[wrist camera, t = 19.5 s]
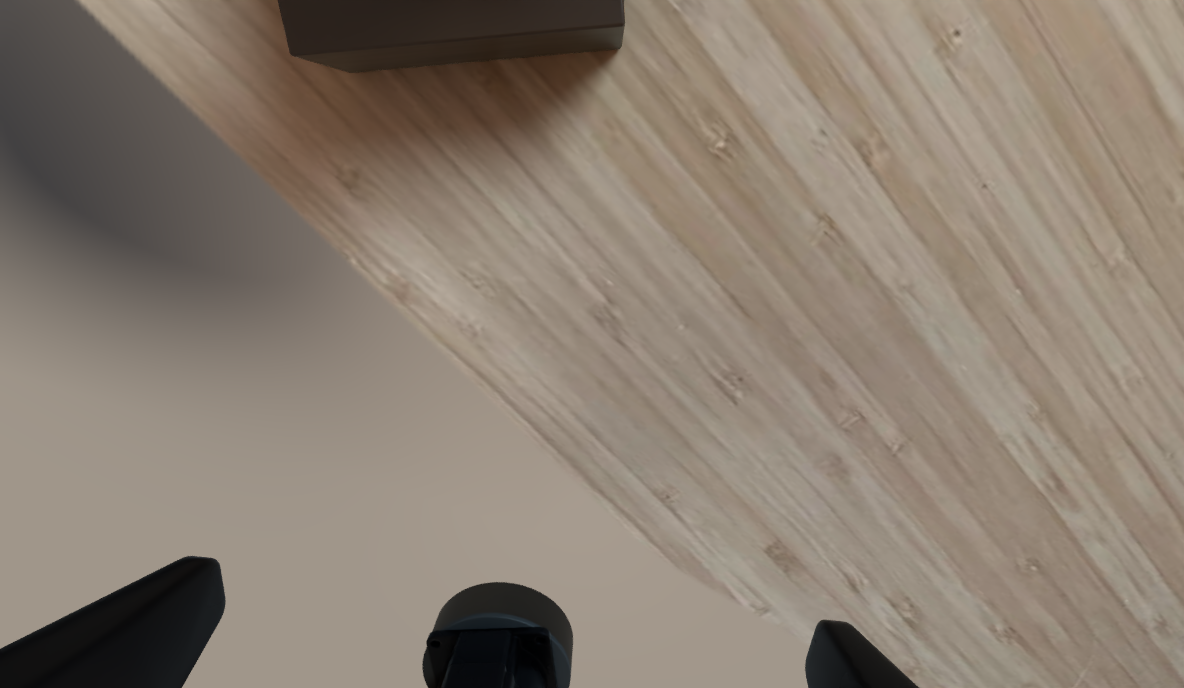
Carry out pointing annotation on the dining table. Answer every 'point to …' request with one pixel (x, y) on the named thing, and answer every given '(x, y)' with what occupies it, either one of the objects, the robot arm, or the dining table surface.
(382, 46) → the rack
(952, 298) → the dining table surface
